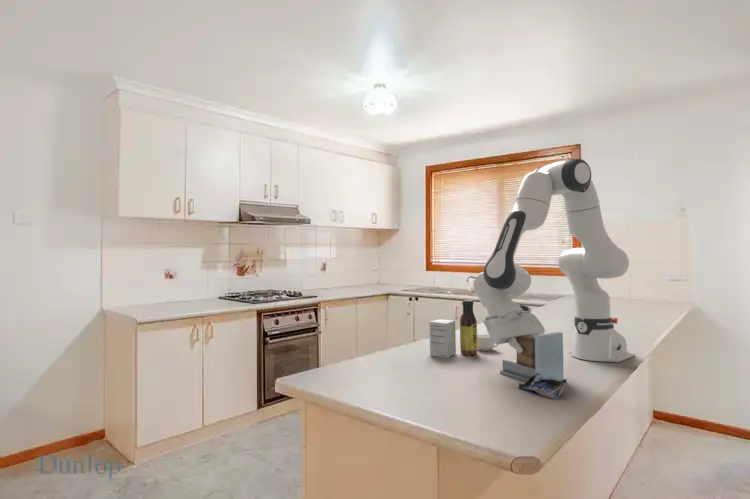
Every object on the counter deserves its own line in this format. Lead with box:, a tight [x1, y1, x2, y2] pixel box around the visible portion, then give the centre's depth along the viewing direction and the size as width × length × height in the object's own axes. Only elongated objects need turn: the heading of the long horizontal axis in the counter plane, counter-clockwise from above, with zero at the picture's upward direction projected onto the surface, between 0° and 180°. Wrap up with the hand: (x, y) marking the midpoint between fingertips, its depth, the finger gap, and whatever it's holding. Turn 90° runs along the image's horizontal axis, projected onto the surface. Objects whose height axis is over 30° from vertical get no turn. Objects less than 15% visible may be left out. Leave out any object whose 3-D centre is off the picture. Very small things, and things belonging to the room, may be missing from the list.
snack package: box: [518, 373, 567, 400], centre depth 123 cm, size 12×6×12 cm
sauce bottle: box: [459, 299, 478, 356], centre depth 169 cm, size 7×6×20 cm
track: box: [499, 331, 565, 383], centre depth 138 cm, size 10×16×14 cm, turn 29°
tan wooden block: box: [516, 335, 535, 368], centre depth 138 cm, size 4×6×11 cm, turn 29°
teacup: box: [477, 333, 499, 352], centre depth 175 cm, size 10×8×5 cm
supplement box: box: [428, 318, 457, 359], centre depth 169 cm, size 7×7×13 cm
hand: (530, 350), depth 138 cm, fingers open, 5 cm apart
